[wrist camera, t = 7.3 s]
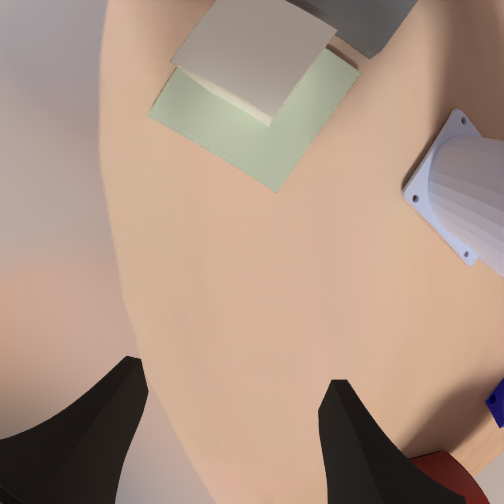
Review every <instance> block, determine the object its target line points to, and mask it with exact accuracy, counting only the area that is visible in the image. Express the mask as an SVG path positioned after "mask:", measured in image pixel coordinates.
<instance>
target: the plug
mask: <svg viewBox="0 0 504 504" xmlns="http://www.w3.org/2000/svg"><path fill="white" fill-rule="evenodd" d="M337 31H338V30H336V29H335V28H333V27H332V26H330V25H328V24H327V23H325V22H323V21H322V20H320V19H318V18H317V17H315V16H313V15H312V14H310V13H308V12H306V11H304V10H303V9H301V8H299V7H297V6H295V5H293V4H291V3H289V2H287V1H285V0H217V1H216V2H215V3H214V4H213V5H212V7H211V8H210V9H209V10H208V11H207V13H206V14H205V15H204V16H203V17H202V19H201V20H200V21H199V22H198V24H197V25H196V26H195V28H194V29H193V30H192V32H191V33H190V34H189V36H188V37H187V38H186V40H185V41H184V42H183V44H182V45H181V47H180V48H179V49H178V51H177V52H176V54H175V55H174V57H173V58H172V60H171V61H170V62H171V63H173V64H174V65H175V66H177V67H178V68H179V69H181V70H182V71H183V72H185V73H186V74H187V75H189V76H190V77H191V78H193V79H194V80H195V81H197V82H198V83H199V84H200V85H202V86H203V87H204V88H206V89H207V90H208V91H210V92H211V93H213V94H215V95H217V96H219V97H221V98H222V99H224V100H226V101H228V102H230V103H231V104H233V105H235V106H237V107H238V108H240V109H242V110H244V111H245V112H247V113H249V114H250V115H252V116H254V117H255V118H257V119H259V120H260V121H262V122H263V123H265V124H267V125H268V126H270V124H271V123H272V121H273V120H274V119H275V117H276V116H277V114H278V113H279V111H280V110H281V109H282V107H283V106H284V104H285V103H286V102H287V100H288V99H289V97H290V96H291V95H292V93H293V92H294V90H295V89H296V88H297V86H298V85H299V83H300V82H301V81H302V79H303V78H304V77H305V75H306V74H307V73H308V71H309V70H310V68H311V67H312V65H313V64H314V63H315V61H316V60H317V58H318V57H319V56H320V54H321V53H322V51H323V50H324V48H325V47H326V46H327V44H328V43H329V42H330V40H331V39H332V37H333V36H334V35H335V33H336V32H337Z"/></svg>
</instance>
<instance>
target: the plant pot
mask: <svg viewBox="0 0 504 504" xmlns="http://www.w3.org/2000/svg"><path fill="white" fill-rule="evenodd" d="M410 461H411V462H412V463H413V464H414V465H415V466H417V467H418V468H419V469H420V470H422V471H423V472H424V473H425V474H427V475H428V476H429V477H431V478H432V479H433V480H435V481H436V482H438V483H439V484H441V485H443V486H444V487H446V488H448V489H449V490H451V491H453V492H455V493H457V494H459V495H461V496H463V497H465V500H466V503H467V504H490V503H489V501H488V499H487V497H486V496H485V494H484V493H483V491H482V490H481V488H480V487H479V485H478V484H477V483H476V481H475V480H474V479H473V477H472V476H471V475H470V474H469V473H468V471H467V470H466V469H465V468H464V467H463V466H462V465H461V464H460V463H459V462H458V461H457V460H456V459H455V458H454V457H453V456H451V455H450V454H449V453H448V452H447V451H445V450H444V451H441V452H437V453H434V454H430V455H426V456H422V457H418V458H414V459H410Z"/></svg>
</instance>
